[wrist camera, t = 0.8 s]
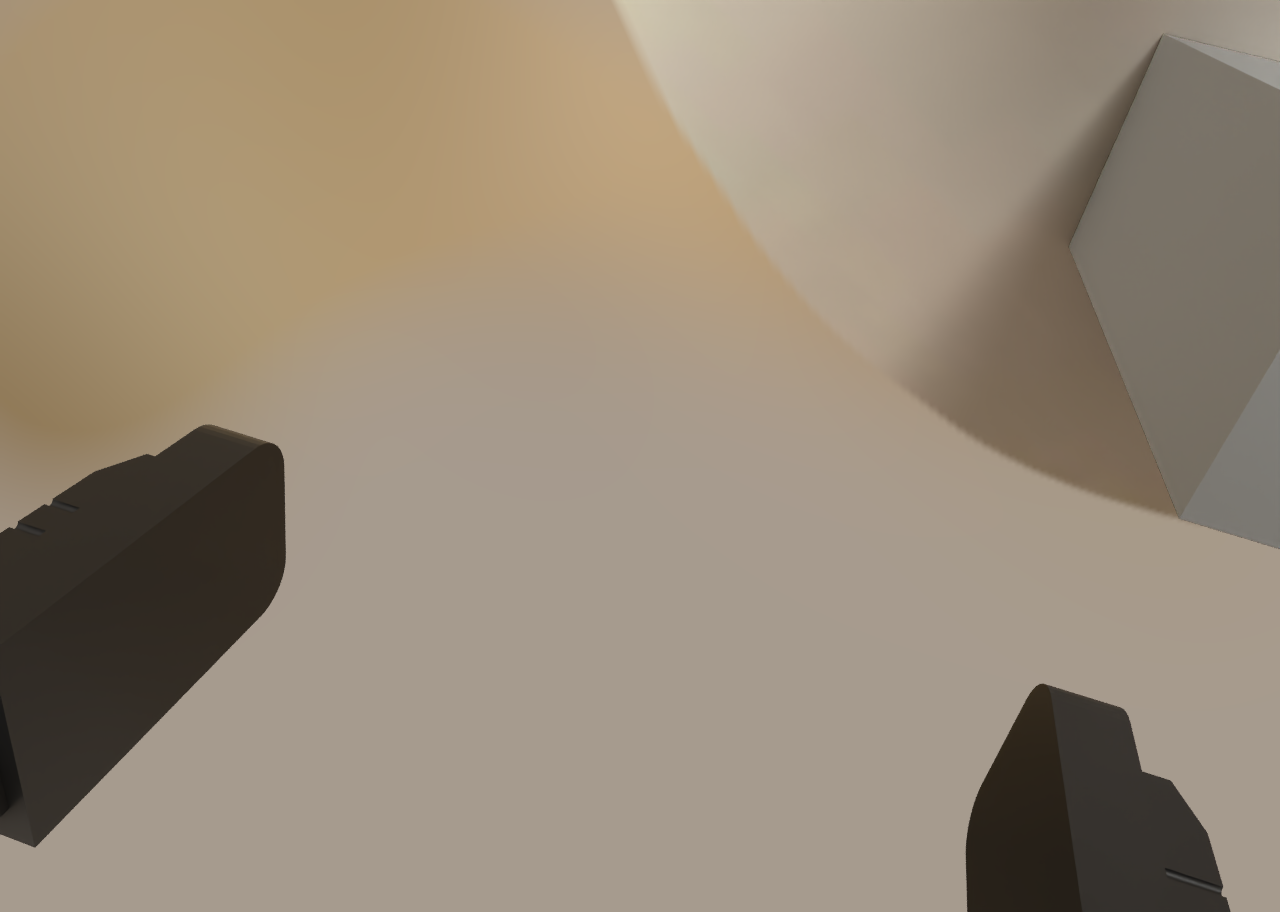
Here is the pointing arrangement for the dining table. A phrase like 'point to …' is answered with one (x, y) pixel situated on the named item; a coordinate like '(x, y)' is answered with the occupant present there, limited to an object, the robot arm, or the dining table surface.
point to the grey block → (1197, 279)
